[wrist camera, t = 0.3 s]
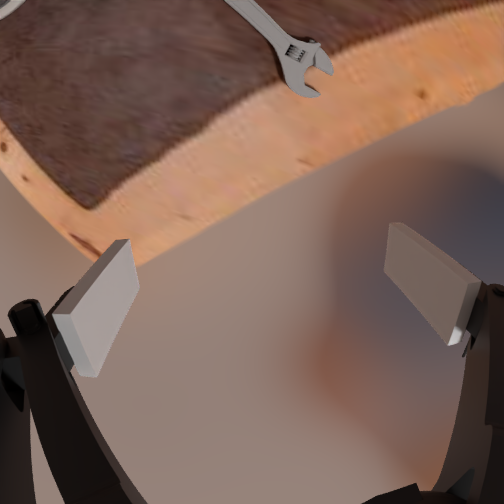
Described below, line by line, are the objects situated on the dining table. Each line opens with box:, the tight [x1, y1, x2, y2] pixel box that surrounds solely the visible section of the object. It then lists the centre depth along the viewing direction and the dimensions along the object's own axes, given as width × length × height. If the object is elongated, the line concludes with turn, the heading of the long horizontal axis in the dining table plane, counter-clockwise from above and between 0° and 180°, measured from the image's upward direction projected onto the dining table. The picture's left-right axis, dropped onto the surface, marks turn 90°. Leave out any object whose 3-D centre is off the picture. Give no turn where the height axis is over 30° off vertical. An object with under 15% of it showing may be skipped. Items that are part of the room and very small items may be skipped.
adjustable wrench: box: [224, 0, 334, 98], centre depth 27 cm, size 25×6×2 cm, turn 38°
